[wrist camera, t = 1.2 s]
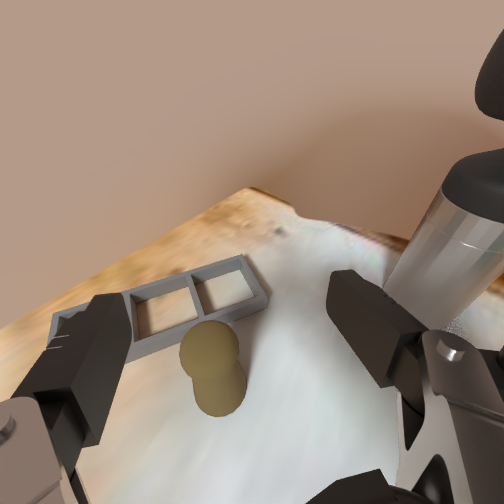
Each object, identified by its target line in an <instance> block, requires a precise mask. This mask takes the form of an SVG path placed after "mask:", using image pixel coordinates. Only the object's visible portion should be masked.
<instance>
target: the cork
mask: <svg viewBox="0 0 504 504" xmlns="http://www.w3.org/2000/svg"><path fill="white" fill-rule="evenodd" d="M238 356H239V341H238V339H237V336H236V334H235V332H234V331H233V330H232V329H231V328H230V327H229V325H227V324H225V323H223V322H221V321H216V320H207V321H203V322H200V323H198V324H196V325H195V326H193V327H192V328H191V329H190V330H189V331H188V332H187V333H186V334H185V335H184V338H183V340H182V342H181V345H180V352H179V357H180V362H181V365H182V367H183V369H184V370H185V372H186V373H187V375H188V376H190V377H191V378H192V382H193V389H194V395H195V400H196V403H197V404H198V406H199V408H200V409H201V410H202V411H203V412H205V413H206V414H207V415H210V416H214V417H222V416H226V415H228V414H230V413H232V412H234V411H235V410H236V409H237V408H238V407H239V406H240V405H241V403H242V401H243V399H244V398H245V394H246V389H247V383H246V377H245V375H244V372H243V370H242V368H241V365H240V363H239V361H238Z"/></svg>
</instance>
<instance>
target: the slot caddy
mask: <svg viewBox="0 0 504 504" xmlns="http://www.w3.org/2000/svg"><path fill="white" fill-rule="evenodd" d="M239 269H240V270H241V272H242V274H243V276H244V278H245V279H246V281H247V283H248V285H249V287H250V288H251V290H252V292H253V294H254V296H255V297H254V298H251V299H249V300H246V301H243V302H241V303H238V304H235V305H233V306H230V307H227V308H225V309H222V310H219V311H217V312H214V313H211V314H209V315H206V316H205V315H204V312H203V309H202V306H201V303H200V300H199V297H198V294H197V292H196V289H195V286H194V284H197V283H200V282H203V281H206V280H209V279H212V278H215V277H218V276H221V275H224V274H227V273H230V272H233V271H236V270H239ZM188 286H189V289H190V292H191V296H192V299H193V302H194V305H195V308H196V311H197V314H198V317H199V318H198V319H195V320H193V321H190V322H187V323H185V324H182V325H179V326H177V327H174V328H171V329H169V330H166V331H163V332H161V333H158V334H155V335H153V336H150V337H147V338H145V339H142V340H140V339H139V330H138V321H137V312H136V303H139V302H142V301H145V300H148V299H151V298H154V297H157V296H160V295H163V294H166V293H169V292H172V291H175V290H179V289H182V288H185V287H188ZM120 293H121V294H122V295H123V298H124V301H125V305H126V308H127V312H128V316H129V319H130V323H131V327H132V341H131V345H130V348H129V351H128V355H127V358H126V361H125V364H126V363H129V362H131V361H134V360H136V359H139V358H141V357H144V356H147V355H149V354H152V353H154V352H157V351H159V350H162V349H164V348H167V347H169V346H172V345H174V344H177V343H179V342H182V340H183V338H184V335H185V334H186V333H187V332H188V331H189V330H190V329H191V328H192V327H193V326H195V325H196V324H198V323H200V322H203V321H207V320H216V321H221V322H223V323H225V324H227V323H230V322H232V321H235V320H237V319H240V318H243V317H245V316H248V315H250V314H253V313H255V312H258V311H260V310H263V309H265V308H267V303H268V297H267V295H266V294H265V292H264V290H263V289H262V287H261V285H260V284H259V282H258V280H257V279H256V277H255V275H254V274H253V272H252V270H251V269H250V267H249V265H248V264H247V262H246V260H245V259H244V257H243V256H242V254H241V255H237V256H234V257H231V258H228V259H225V260H222V261H218V262H215V263H212V264H209V265H206V266H202V267H199V268H196V269H193V270H190V271H187V272H183V273H180V274H177V275H174V276H171V277H167V278H164V279H161V280H158V281H155V282H151V283H148V284H145V285H142V286H139V287H136V288H132V289H129V290H126V291H123V292H120ZM89 303H90V302H88V303H85V304H81V305H78V306H75V307H72V308H69V309H65V310H62V311H59V312H56V313H53V316H52V321H51V327H50V332H49V338H48V343H47V346H48V344H49V343H50V341H51V340H52V339H54V336H55V334H56V333H57V332H58V330H59V329H60V327H61V326H62V325H63V323H64V322H66V321H67V320H68V319H69V318H71V317H72V316H73V315H74V314H76V313H77V312H79V311H85V309H86V308H87V306H88V305H89Z"/></svg>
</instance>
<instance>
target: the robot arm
mask: <svg viewBox="0 0 504 504" xmlns="http://www.w3.org/2000/svg"><path fill="white" fill-rule="evenodd" d="M475 102H476V104H477V106H478V108H479V110H481V111H482V112H483V113H484V114H485V115H487V116H489V117H492V118H495V119H499V120H503V121H504V29H503V31H502V32H501V34H500V35H499V37H498V38H497V40H496V42H495V43H494V45H493V46H492V48H491V50H490V52H489V53H488V55H487V57H486V59H485V61H484V63H483V66H482V67H481V70H480V72H479V76H478V78H477V81H476V86H475ZM503 273H504V148H502V149H498V150H493V151H488V152H482V153H477V154H473V155H470V156H467V157H465V158H463V159H461V160H459V161H458V162H457V163H455V164H454V166H453V167H452V168H451V170H450V171H449V173H448V175H447V176H446V178H445V180H444V182H443V184H442V185H441V187H440V189H439V190H438V192H437V194H436V196H435V198H434V199H433V201H432V203H431V204H430V206H429V208H428V210H427V212H426V213H425V216H424V217H423V219H422V220H421V222H420V224H419V226H418V227H417V229H416V231H415V233H414V234H413V236H412V238H411V240H410V241H409V243H408V245H407V247H406V248H405V250H404V252H403V254H402V255H401V257H400V259H399V261H398V262H397V264H396V266H395V268H394V269H393V271H392V273H391V275H390V276H389V278H388V280H387V282H386V283H385V285H384V287H383V290H382V289H381V288H380V287H378V286H376V285H375V284H373V283H371V282H369V281H367V280H364V279H363V278H362V277H361V276H360V275H359V274H357V273H356V272H355V271H354V270H351V269H350V270H340V271H333V272H332V274H331V276H330V282H329V287H328V293H327V299H326V309H327V313H328V315H329V317H330V319H331V320H332V321H333V323H334V324H335V325H336V327H337V328H338V330H339V331H340V332H341V334H342V335H343V337H344V338H345V339H346V341H347V342H348V344H349V345H350V346H351V348H352V349H353V351H354V352H355V353H356V355H357V356H358V358H359V359H360V360H361V362H362V363H363V364H364V366H365V367H366V369H367V370H368V371H369V373H370V374H371V376H372V377H373V378H374V380H375V381H376V383H377V384H378V385H379V387H380V388H385V387H389V386H394V385H395V387H396V388H397V389H398V390H399V391H398V394H397V398H396V401H397V419H398V437H399V467H398V471H397V477H396V486H392V485H388V483H387V481H386V479H385V478H384V476H383V474H382V472H381V470H380V469H376V470H372V471H369V472H365V473H361V474H358V475H354V476H350V477H347V478H343V479H339V480H336V481H335V482H333V483H332V484H331V485H329V486H328V487H327V488H325V489H324V490H323V491H321V492H320V493H319V494H317V495H316V496H315V497H313V498H312V499H311V500H310V501H308V502H307V503H306V504H504V346H503V347H502V349H501V350H500V351H492V350H483V349H476V348H475V347H474V346H473V345H472V344H471V343H469V342H468V341H466V340H465V339H463V338H461V337H459V336H457V335H455V334H452V333H449V332H446V331H442V330H437V329H442V328H444V327H446V326H448V325H449V324H450V323H451V322H452V321H453V320H454V319H455V318H456V317H457V316H458V315H460V314H461V313H462V312H463V311H464V310H465V309H466V308H467V307H468V306H469V305H470V304H471V303H472V302H473V301H474V300H475V299H476V298H477V297H478V296H480V295H481V294H482V293H483V292H484V291H485V290H486V289H487V288H488V287H489V286H490V285H491V284H492V283H493V282H494V281H495V280H496V279H497V278H498V277H499V276H500V275H501V274H503ZM131 341H132V327H131V323H130V319H129V316H128V312H127V308H126V305H125V301H124V298H123V295H122V294H121V293H109V294H99V295H95V296H94V297H93V299H92V300H91V302H90V303H89V305H88V306H87V308H86V309H85V311H79V312H77V313H76V314H74V315H73V316H72V317H71V318H69V319H68V320H67V321H66V322H64V323H63V325H62V326H61V327H60V329H59V330H58V332H57V333H56V334H55V336H54V339H52V340H51V341H50V343H49V344H48V346H47V347H46V351H43V353H42V354H41V355H40V357H39V358H38V360H37V361H36V363H35V364H34V365H33V367H32V368H31V370H30V371H29V372H28V374H27V375H26V377H25V378H24V379H23V381H22V382H21V384H20V385H19V386H18V388H17V389H16V391H15V392H14V393H13V395H12V396H11V398H10V399H8V400H5V401H3V402H0V504H91V502H90V499H89V496H88V494H87V491H86V489H85V486H84V484H83V481H82V479H81V476H80V473H79V471H78V468H77V467H76V463H77V460H78V457H79V455H80V452H81V449H82V448H85V447H90V446H95V445H99V442H100V439H101V436H102V433H103V430H104V427H105V424H106V420H107V417H108V414H109V411H110V408H111V405H112V402H113V398H114V395H115V392H116V389H117V386H118V383H119V380H120V377H121V373H122V370H123V367H124V364H125V361H126V358H127V355H128V351H129V348H130V345H131Z"/></svg>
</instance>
